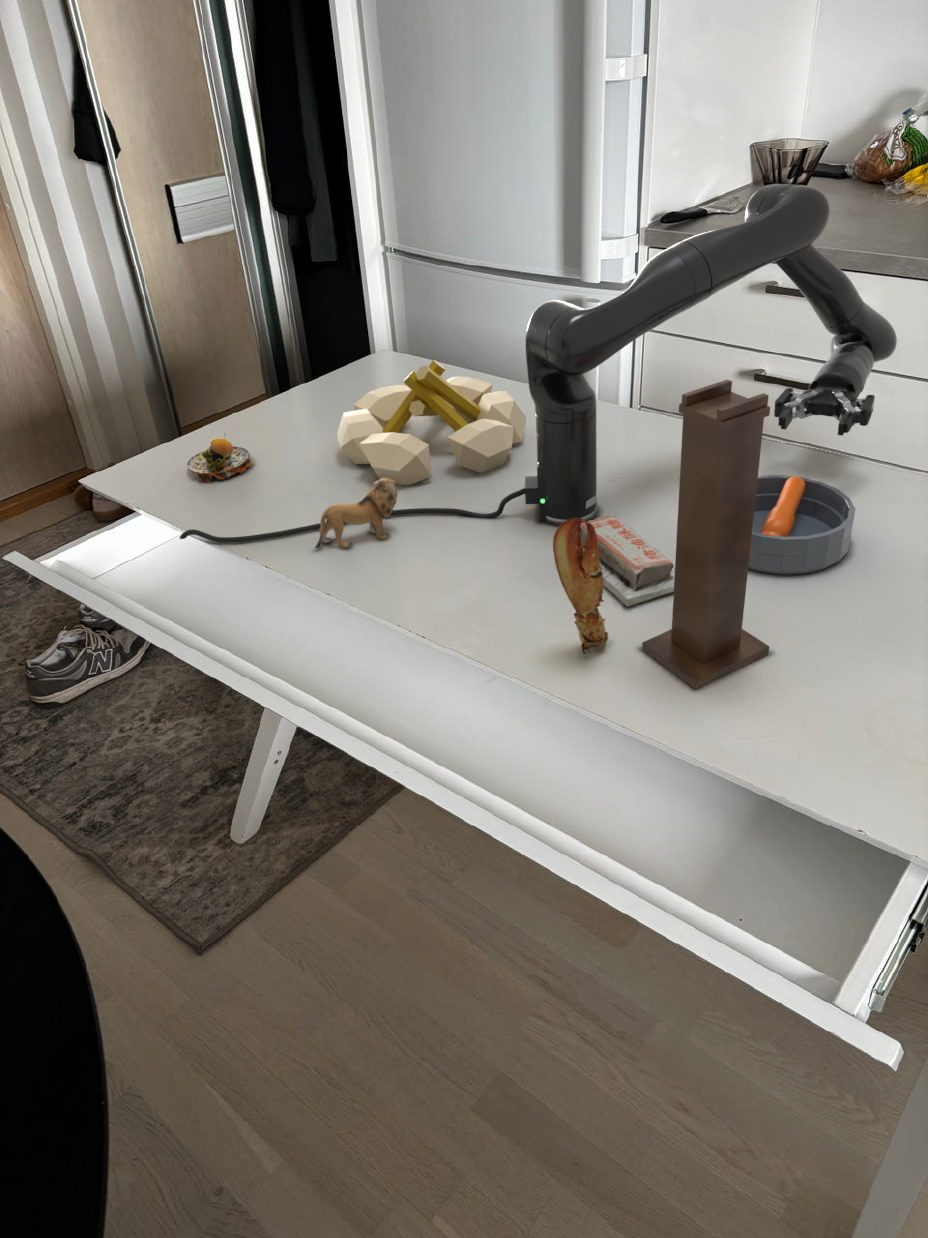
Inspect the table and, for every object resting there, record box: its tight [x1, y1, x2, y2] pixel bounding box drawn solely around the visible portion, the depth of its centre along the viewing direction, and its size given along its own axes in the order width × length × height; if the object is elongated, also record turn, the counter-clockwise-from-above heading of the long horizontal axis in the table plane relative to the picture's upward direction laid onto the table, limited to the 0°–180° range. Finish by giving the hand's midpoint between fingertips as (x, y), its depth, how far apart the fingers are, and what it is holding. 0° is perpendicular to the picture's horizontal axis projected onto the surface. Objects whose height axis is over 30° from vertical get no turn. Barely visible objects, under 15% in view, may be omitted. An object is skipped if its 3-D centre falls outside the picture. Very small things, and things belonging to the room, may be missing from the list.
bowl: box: [748, 474, 856, 575], centre depth 139 cm, size 20×20×6 cm
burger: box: [187, 430, 253, 483], centre depth 176 cm, size 12×12×8 cm
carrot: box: [760, 476, 805, 537], centre depth 139 cm, size 18×4×4 cm, turn 150°
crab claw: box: [552, 517, 609, 655], centre depth 117 cm, size 7×5×20 cm
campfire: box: [336, 359, 527, 487], centre depth 174 cm, size 35×34×17 cm
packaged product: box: [580, 515, 675, 608], centre depth 136 cm, size 18×5×10 cm
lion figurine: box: [314, 478, 398, 549], centre depth 149 cm, size 15×5×9 cm, turn 116°
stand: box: [641, 379, 771, 690], centre depth 110 cm, size 12×10×34 cm
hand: (811, 426), depth 145 cm, fingers open, 8 cm apart
